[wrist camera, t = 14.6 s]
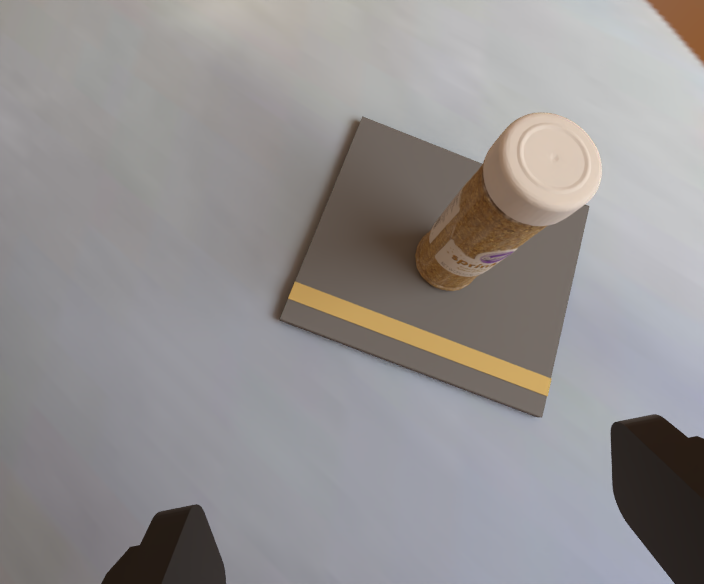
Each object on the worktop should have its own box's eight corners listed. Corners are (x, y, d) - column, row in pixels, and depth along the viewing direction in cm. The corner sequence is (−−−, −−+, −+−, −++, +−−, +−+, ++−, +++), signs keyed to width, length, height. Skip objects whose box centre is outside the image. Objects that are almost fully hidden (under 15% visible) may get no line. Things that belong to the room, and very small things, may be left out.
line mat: (280, 320, 30) (279, 318, 29) (361, 121, 34) (362, 115, 33) (537, 416, 30) (542, 417, 30) (584, 209, 35) (590, 205, 34)
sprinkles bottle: (433, 303, 31) (538, 225, 18) (402, 243, 32) (480, 128, 19) (490, 276, 32) (627, 184, 19) (458, 219, 33) (569, 94, 20)
